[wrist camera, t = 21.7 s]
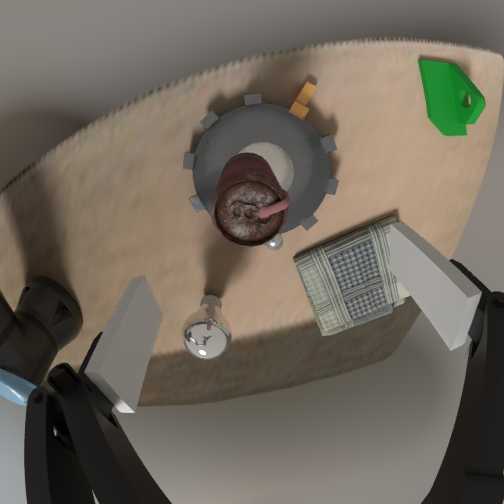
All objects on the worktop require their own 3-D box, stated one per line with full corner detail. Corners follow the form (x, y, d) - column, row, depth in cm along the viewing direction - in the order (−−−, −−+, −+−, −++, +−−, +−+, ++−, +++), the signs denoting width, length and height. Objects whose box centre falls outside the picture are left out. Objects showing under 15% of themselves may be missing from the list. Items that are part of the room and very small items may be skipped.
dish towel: (288, 254, 42) (291, 265, 39) (392, 211, 39) (402, 219, 36) (321, 333, 50) (325, 345, 47) (405, 297, 47) (412, 307, 44)
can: (282, 185, 34) (306, 228, 22) (237, 208, 35) (234, 263, 23) (259, 142, 31) (271, 158, 19) (213, 166, 33) (194, 200, 20)
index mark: (304, 106, 32) (305, 105, 31) (294, 100, 31) (296, 100, 31) (315, 87, 31) (316, 87, 30) (305, 82, 30) (307, 81, 29)
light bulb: (226, 319, 47) (223, 373, 36) (187, 309, 46) (174, 362, 35) (238, 287, 44) (237, 341, 33) (195, 275, 43) (181, 328, 32)
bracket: (416, 60, 28) (443, 56, 22) (451, 65, 27) (478, 63, 21) (428, 135, 33) (456, 142, 27) (461, 133, 33) (488, 140, 27)
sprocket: (255, 265, 41) (257, 283, 37) (155, 167, 34) (143, 175, 29) (362, 181, 35) (377, 190, 31) (268, 65, 28) (272, 57, 24)
